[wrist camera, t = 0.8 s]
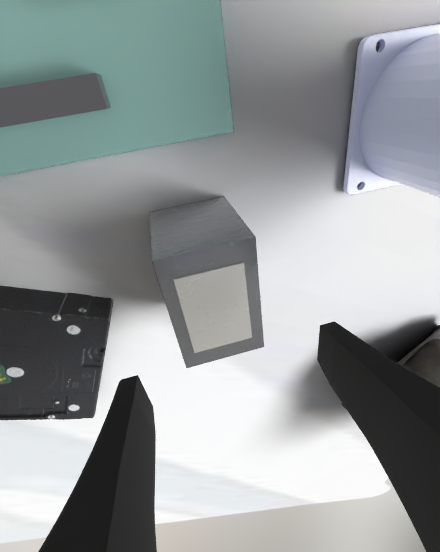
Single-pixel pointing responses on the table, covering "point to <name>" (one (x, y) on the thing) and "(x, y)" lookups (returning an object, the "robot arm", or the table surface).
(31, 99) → the teal peg board
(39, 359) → the disk drive
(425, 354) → the grey lumpy piece
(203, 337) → the dark grey block
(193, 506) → the table surface
